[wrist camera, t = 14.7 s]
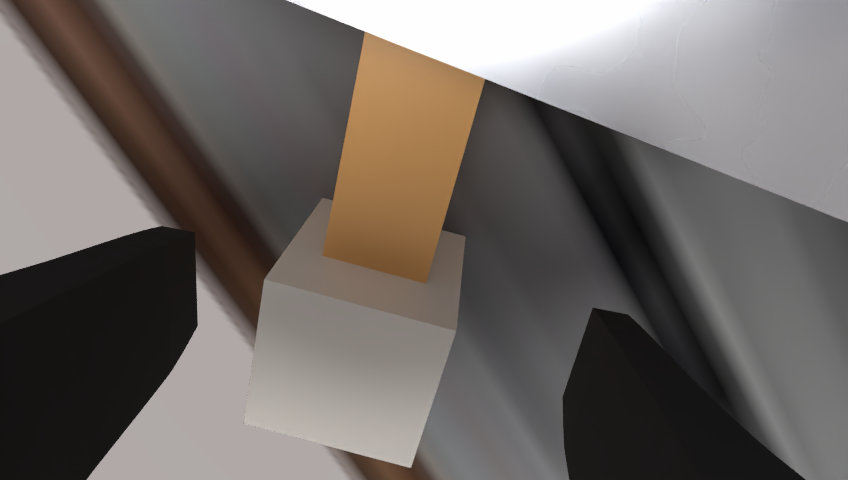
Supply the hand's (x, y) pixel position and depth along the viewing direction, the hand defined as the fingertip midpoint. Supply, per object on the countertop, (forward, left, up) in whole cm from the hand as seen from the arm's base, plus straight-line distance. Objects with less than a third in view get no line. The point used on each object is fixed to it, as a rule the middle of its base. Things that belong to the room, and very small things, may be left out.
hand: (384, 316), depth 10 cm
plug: (+1, -3, -6) cm, 6 cm away
